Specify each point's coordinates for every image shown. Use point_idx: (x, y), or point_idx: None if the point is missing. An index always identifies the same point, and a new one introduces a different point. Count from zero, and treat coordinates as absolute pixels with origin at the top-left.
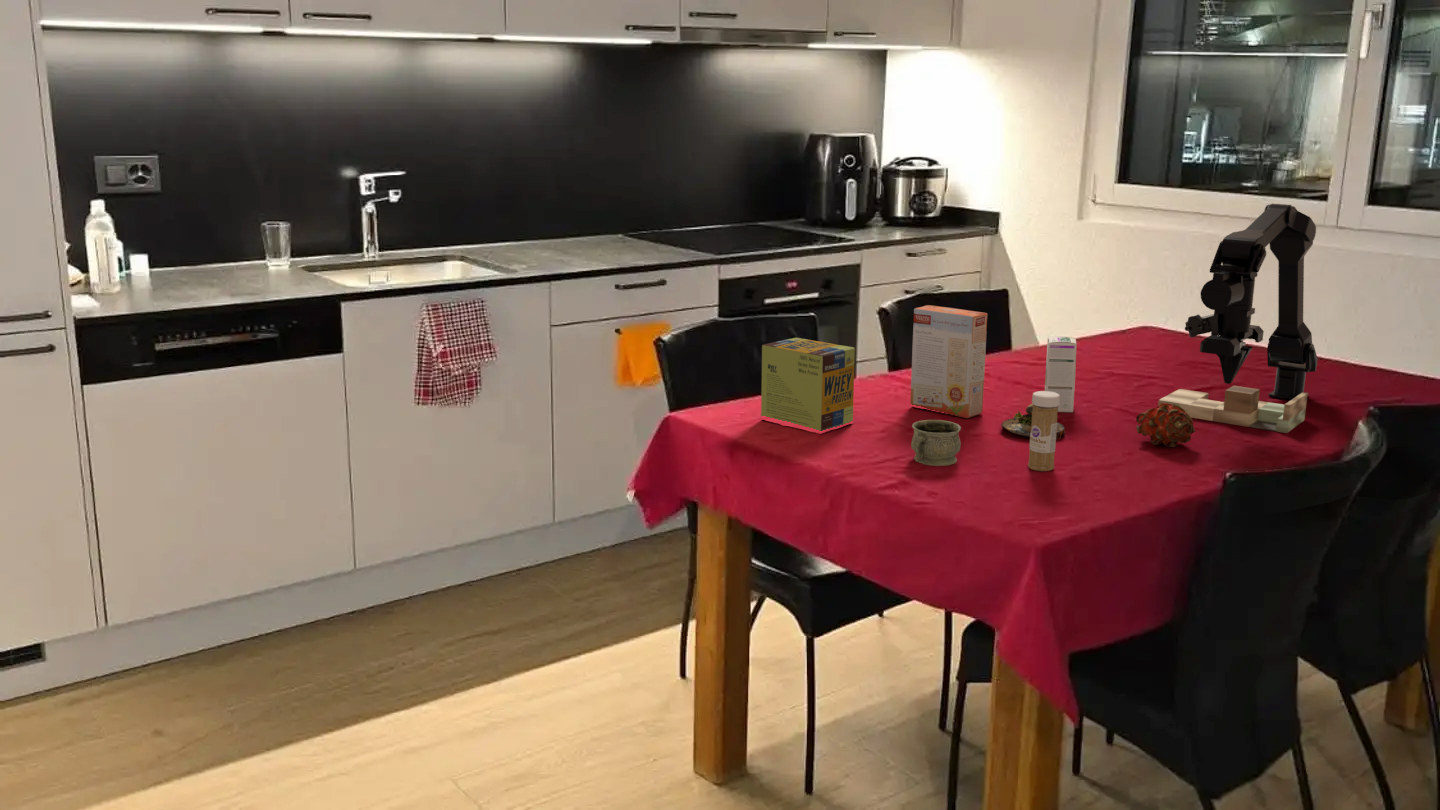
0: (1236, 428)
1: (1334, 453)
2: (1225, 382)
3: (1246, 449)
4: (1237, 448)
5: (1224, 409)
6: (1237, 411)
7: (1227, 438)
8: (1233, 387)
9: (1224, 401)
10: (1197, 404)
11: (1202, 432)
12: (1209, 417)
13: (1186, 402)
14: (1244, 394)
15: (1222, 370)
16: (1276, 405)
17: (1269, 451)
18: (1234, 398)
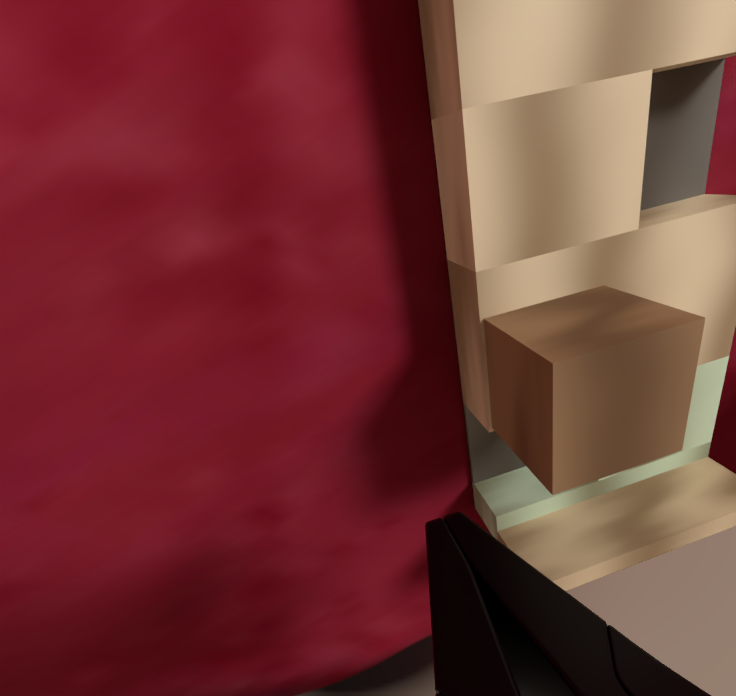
0: (409, 388)
1: (365, 669)
2: (427, 531)
3: (162, 573)
4: (141, 555)
5: (486, 324)
6: (490, 382)
7: (236, 458)
8: (655, 346)
9: (509, 336)
10: (504, 150)
11: (223, 347)
12: (451, 245)
13: (508, 62)
14: (547, 458)
15: (434, 644)
16: (692, 400)
17: (217, 611)
18: (525, 397)
